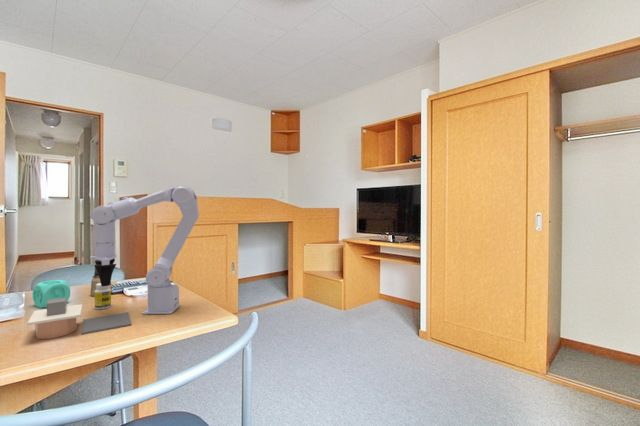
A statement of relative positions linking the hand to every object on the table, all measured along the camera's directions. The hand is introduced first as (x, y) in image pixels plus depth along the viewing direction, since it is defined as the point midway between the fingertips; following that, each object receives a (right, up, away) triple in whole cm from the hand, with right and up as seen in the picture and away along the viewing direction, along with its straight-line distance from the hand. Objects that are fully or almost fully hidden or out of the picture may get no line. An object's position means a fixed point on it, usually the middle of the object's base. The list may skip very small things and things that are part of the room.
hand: (105, 283), depth 103 cm
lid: (-4, -6, -14) cm, 16 cm away
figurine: (-17, -10, +22) cm, 29 cm away
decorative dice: (-26, -10, +9) cm, 29 cm away
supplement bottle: (-6, -10, +7) cm, 14 cm away
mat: (+5, -11, -7) cm, 14 cm away
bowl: (-4, -11, -14) cm, 18 cm away
